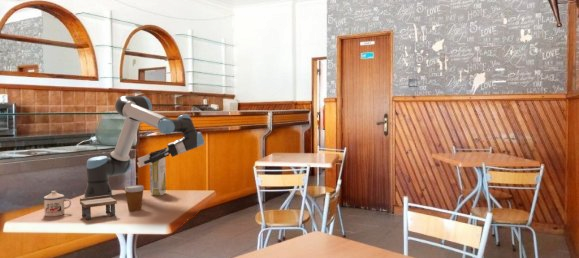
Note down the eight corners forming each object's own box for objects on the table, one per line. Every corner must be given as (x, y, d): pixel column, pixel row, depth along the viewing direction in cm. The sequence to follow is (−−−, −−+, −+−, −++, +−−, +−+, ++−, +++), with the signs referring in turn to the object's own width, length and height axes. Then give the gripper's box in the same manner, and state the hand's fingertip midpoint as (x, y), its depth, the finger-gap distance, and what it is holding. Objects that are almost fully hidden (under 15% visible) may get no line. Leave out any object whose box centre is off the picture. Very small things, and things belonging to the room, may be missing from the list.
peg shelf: (80, 215, 210) (79, 198, 210) (110, 211, 219) (109, 194, 218) (85, 220, 201) (85, 202, 200) (117, 216, 209) (116, 198, 209)
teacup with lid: (42, 217, 208) (42, 193, 207) (45, 213, 216) (44, 190, 216) (70, 214, 213) (70, 191, 212) (72, 211, 221) (71, 188, 220)
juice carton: (162, 195, 257) (161, 155, 256) (149, 195, 258) (148, 155, 256) (167, 192, 267) (166, 154, 266) (154, 192, 267) (153, 154, 266)
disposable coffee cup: (138, 212, 217) (137, 188, 216) (121, 211, 219) (120, 187, 218) (148, 207, 226) (147, 185, 225) (131, 207, 228) (131, 184, 227)
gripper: (172, 139, 248) (136, 152, 243) (175, 144, 225) (134, 160, 219) (177, 150, 250) (141, 165, 244) (180, 157, 226) (140, 173, 221)
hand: (138, 162), depth 232 cm, fingers open, 13 cm apart
